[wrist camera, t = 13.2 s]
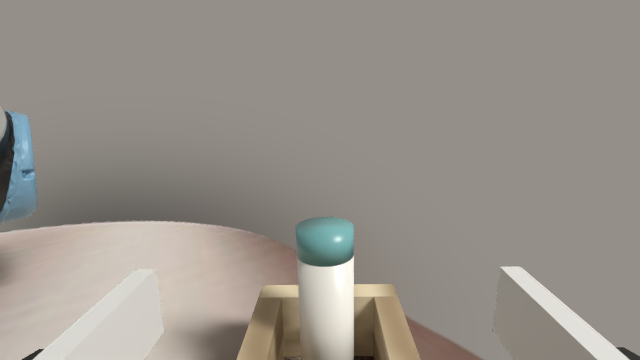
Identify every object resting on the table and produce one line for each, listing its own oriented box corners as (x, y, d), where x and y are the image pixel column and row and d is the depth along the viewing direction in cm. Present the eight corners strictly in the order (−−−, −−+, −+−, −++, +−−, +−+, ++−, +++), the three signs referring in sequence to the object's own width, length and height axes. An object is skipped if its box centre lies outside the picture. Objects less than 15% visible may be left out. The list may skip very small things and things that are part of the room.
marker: (300, 418, 24) (292, 238, 21) (304, 374, 28) (298, 217, 25) (356, 418, 24) (355, 237, 21) (352, 374, 28) (351, 216, 25)
